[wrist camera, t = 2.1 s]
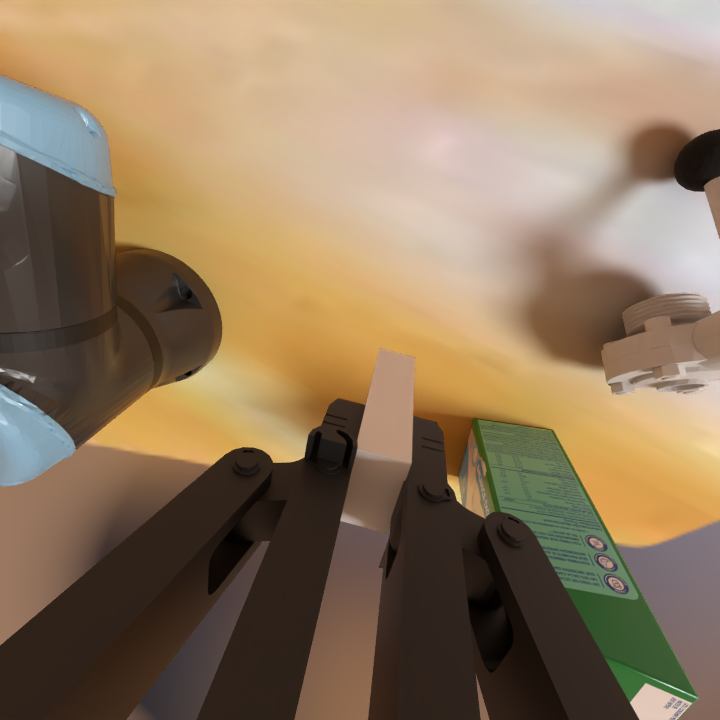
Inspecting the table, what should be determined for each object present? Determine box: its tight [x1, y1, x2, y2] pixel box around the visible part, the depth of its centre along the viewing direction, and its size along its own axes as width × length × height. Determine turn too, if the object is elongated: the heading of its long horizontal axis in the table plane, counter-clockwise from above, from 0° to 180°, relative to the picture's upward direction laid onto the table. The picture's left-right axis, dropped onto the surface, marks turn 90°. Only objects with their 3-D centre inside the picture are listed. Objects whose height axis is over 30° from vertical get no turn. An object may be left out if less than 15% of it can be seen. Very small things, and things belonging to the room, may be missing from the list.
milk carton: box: [459, 419, 699, 720], centre depth 34 cm, size 9×9×25 cm
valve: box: [601, 129, 720, 395], centre depth 32 cm, size 10×18×15 cm
